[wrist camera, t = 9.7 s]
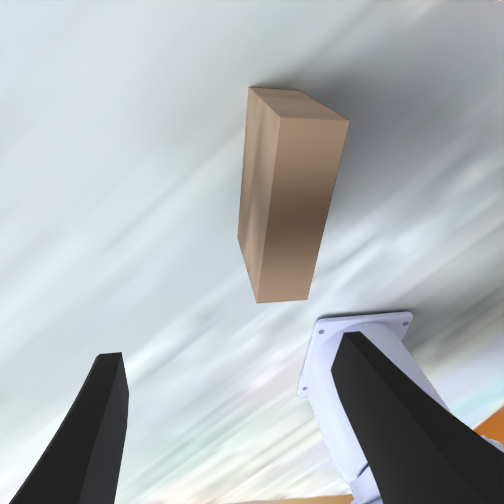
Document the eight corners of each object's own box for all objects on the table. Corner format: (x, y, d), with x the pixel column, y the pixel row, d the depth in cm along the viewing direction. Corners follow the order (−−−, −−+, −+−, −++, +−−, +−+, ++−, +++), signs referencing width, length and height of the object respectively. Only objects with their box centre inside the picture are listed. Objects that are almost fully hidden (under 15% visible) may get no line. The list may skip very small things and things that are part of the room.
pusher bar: (276, 236, 20) (307, 299, 16) (237, 237, 20) (256, 303, 15) (298, 90, 16) (349, 121, 11) (248, 86, 15) (280, 117, 11)
